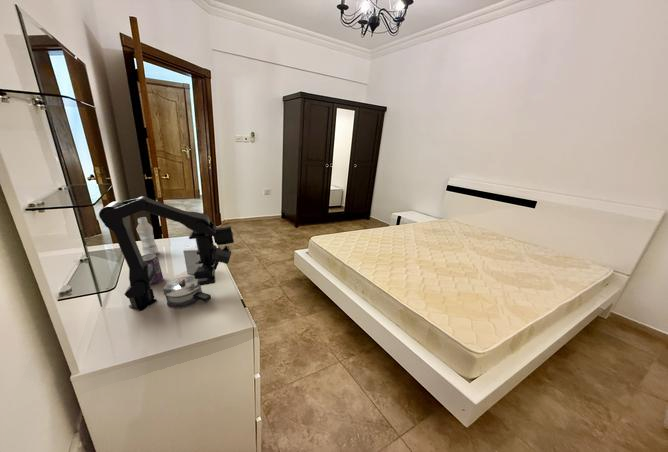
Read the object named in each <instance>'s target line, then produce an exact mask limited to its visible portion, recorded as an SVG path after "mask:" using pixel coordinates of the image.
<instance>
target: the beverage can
mask: <svg viewBox="0 0 668 452" xmlns="http://www.w3.org/2000/svg"><path fill="white" fill-rule="evenodd" d="M141 256H142V258H143V261H144V262H145V263H146V264H147V265H149V264H152V265H153V269H154V271H155V274H154V278H153V280H152V282H151V284H150V286H154V285H156V284H158V283H161V282H162V281H163V279H164V275H163V271H162V268H161V264H160V259H159V258H158V256H157V254H146V255H144V254H143V255H141Z"/></svg>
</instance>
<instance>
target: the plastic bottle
mask: <svg viewBox="0 0 668 452" xmlns="http://www.w3.org/2000/svg"><path fill="white" fill-rule="evenodd" d="M153 229H154V228H153V225H152V224H150V223H149V222H148V219H147V217H146V216H142V217H138V218H137V227H136V231H137V234H138V236H139V239H140V241H141V246H142V247H141V248H142V253H143V255H146V254H155V255H157V254H158V252H159V247H158V245H157V243H156V240H155V237H154V236H155V235H154V230H153Z"/></svg>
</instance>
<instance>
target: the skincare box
mask: <svg viewBox="0 0 668 452" xmlns="http://www.w3.org/2000/svg"><path fill="white" fill-rule="evenodd" d="M182 251H183V257H184V264H185V268H186V273H187V274H188V275H191V274H193V275H194V273H195V271H196V269H197V268H198V267H202V264H199V260H200V257H199V255H197V251H198V248H197V245H196V246H195V245H194V246H193V245H192V246H191V245H190V246H186V247H185V248H184V249H183V250H182Z"/></svg>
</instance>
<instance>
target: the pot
mask: <svg viewBox="0 0 668 452" xmlns="http://www.w3.org/2000/svg"><path fill="white" fill-rule="evenodd" d="M165 298H166V305H167V307H168V308H169V309H171V310H184V309H188V308H191V307H193V306H195V305H196V304H198V303H199V302H203V303H208V302H209V301H210V300H212V295H211V294H209V293H205V292H203V289H202V285H201V286H200V288H199V289H198V290H197V291H195V292H193V293H192V294H189V295H187V296H183V297H178V298H171V297H167V296H165Z"/></svg>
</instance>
